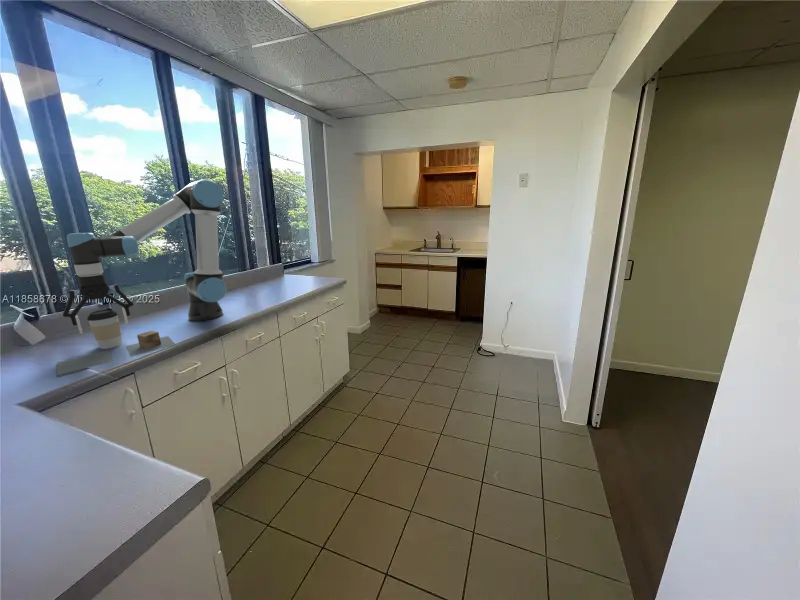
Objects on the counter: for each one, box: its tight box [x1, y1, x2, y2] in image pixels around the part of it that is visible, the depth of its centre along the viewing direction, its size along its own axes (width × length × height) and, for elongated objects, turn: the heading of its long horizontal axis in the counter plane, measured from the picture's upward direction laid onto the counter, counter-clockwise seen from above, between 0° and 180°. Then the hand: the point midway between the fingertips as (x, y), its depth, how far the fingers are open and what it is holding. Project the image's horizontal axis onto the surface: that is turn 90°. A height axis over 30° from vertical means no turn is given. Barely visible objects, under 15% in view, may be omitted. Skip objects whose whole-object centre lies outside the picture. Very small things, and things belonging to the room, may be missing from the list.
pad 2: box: [125, 335, 176, 357], centre depth 128 cm, size 14×14×1 cm
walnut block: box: [136, 330, 161, 349], centre depth 128 cm, size 5×5×5 cm
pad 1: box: [56, 349, 114, 377], centre depth 116 cm, size 14×14×1 cm
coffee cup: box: [87, 307, 123, 350], centre depth 128 cm, size 9×9×15 cm
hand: (105, 328), depth 128 cm, fingers open, 13 cm apart
